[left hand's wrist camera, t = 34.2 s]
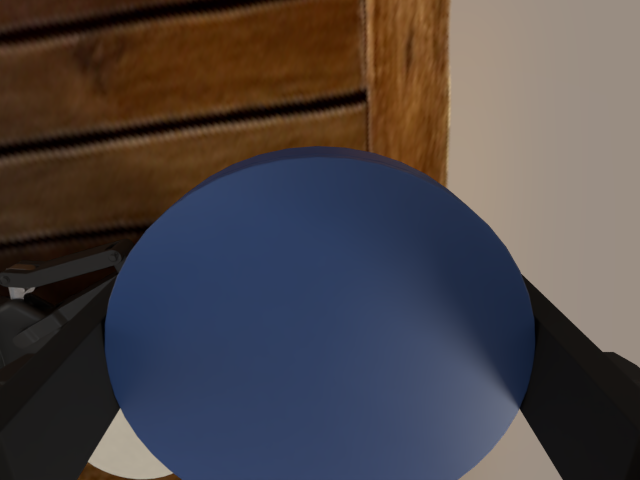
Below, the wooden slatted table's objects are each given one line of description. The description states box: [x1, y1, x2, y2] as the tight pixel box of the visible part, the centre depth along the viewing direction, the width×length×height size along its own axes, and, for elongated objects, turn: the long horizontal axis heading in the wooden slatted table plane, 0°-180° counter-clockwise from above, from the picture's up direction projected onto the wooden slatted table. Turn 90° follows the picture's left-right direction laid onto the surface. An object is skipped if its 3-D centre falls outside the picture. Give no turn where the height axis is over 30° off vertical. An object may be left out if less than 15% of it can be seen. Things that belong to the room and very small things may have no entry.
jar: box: [88, 408, 173, 479], centre depth 34 cm, size 10×10×16 cm
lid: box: [104, 146, 535, 480], centre depth 11 cm, size 11×11×2 cm
